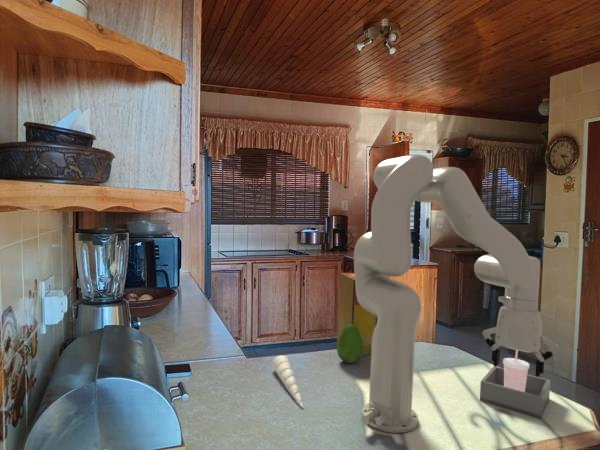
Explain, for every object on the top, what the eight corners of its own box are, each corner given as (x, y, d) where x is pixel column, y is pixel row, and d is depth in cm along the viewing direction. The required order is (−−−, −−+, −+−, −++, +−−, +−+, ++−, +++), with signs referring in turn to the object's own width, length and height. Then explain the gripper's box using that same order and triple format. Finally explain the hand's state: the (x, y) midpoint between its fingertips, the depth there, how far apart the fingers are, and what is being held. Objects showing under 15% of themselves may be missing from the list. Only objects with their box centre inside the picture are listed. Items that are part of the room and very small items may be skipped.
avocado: (354, 369, 122) (356, 329, 121) (331, 362, 126) (333, 324, 126) (366, 361, 129) (367, 323, 128) (343, 355, 133) (345, 318, 132)
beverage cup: (503, 389, 110) (506, 337, 109) (529, 396, 106) (532, 342, 106) (498, 396, 105) (501, 342, 105) (524, 404, 101) (528, 348, 101)
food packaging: (376, 354, 135) (379, 279, 134) (349, 356, 132) (352, 279, 131) (360, 341, 148) (363, 272, 146) (335, 342, 145) (338, 272, 144)
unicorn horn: (286, 411, 96) (287, 391, 96) (272, 371, 119) (272, 354, 119) (306, 409, 97) (307, 390, 97) (288, 370, 120) (288, 354, 120)
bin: (540, 419, 96) (542, 398, 96) (479, 400, 105) (480, 381, 104) (549, 398, 107) (550, 380, 107) (493, 383, 115) (494, 365, 115)
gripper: (480, 300, 107) (477, 365, 108) (558, 313, 96) (553, 384, 97) (488, 296, 113) (484, 357, 114) (562, 307, 102) (557, 375, 103)
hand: (516, 369), depth 105 cm, fingers open, 9 cm apart
